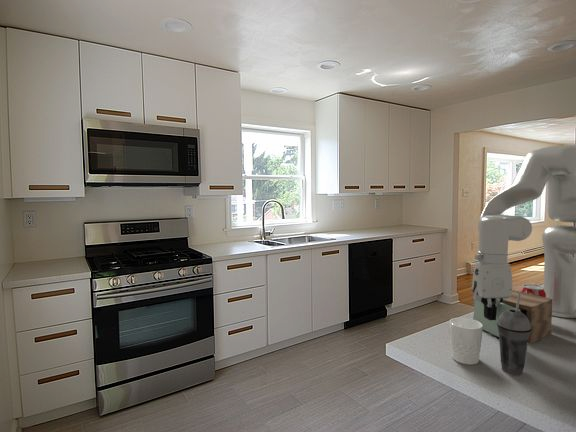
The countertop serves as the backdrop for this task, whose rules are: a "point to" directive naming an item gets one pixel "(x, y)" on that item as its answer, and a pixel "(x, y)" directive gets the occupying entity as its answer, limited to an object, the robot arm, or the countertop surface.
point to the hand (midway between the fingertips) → (489, 318)
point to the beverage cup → (513, 339)
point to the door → (488, 324)
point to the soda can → (534, 290)
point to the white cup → (465, 340)
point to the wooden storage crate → (534, 313)
